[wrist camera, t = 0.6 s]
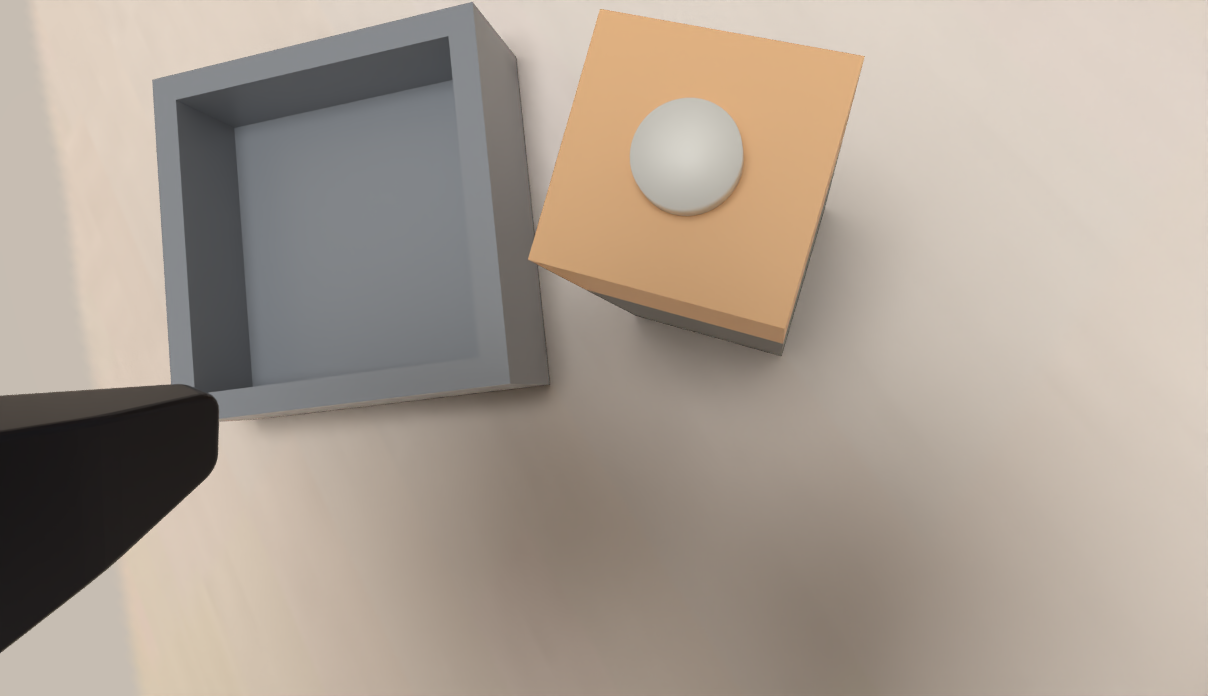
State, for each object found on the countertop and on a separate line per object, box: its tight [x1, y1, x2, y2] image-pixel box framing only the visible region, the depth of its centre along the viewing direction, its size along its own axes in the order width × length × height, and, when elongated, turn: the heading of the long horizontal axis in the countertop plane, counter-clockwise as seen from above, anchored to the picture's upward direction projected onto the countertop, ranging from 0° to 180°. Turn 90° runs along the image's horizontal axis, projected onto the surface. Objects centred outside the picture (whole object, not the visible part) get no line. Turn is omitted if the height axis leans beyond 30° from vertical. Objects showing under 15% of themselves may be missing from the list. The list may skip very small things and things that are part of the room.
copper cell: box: [528, 9, 865, 356], centre depth 17 cm, size 4×4×10 cm
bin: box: [152, 2, 550, 422], centre depth 23 cm, size 11×11×4 cm
